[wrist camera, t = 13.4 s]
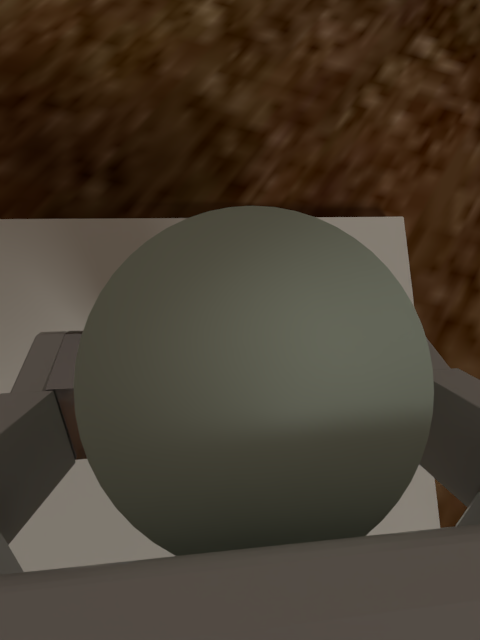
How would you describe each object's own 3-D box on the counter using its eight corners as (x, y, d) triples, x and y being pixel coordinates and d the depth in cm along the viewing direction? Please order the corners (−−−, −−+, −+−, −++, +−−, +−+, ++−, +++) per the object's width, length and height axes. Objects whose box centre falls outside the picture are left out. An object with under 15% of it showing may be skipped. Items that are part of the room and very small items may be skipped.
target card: (-18, 581, 16) (-33, 596, 15) (-6, 228, 18) (-18, 218, 17) (428, 534, 18) (443, 544, 17) (393, 225, 20) (404, 215, 19)
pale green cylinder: (157, 445, 15) (71, 596, 4) (154, 327, 16) (75, 206, 5) (274, 437, 16) (455, 553, 5) (266, 323, 16) (412, 205, 6)
